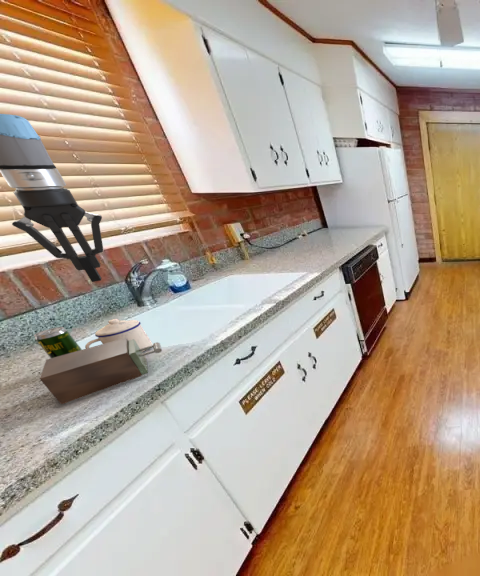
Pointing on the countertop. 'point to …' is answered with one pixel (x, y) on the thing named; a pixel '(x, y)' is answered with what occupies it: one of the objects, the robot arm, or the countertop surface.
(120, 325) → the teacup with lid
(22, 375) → the countertop surface
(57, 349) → the green soda can
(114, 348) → the cabinet
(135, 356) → the drawer
